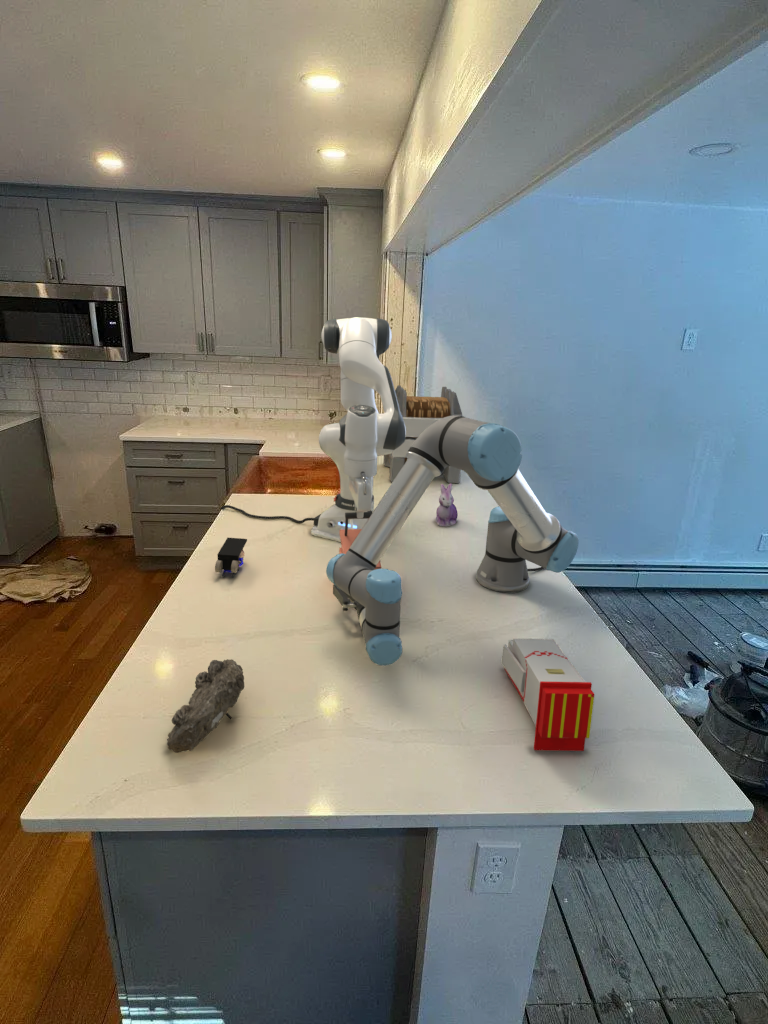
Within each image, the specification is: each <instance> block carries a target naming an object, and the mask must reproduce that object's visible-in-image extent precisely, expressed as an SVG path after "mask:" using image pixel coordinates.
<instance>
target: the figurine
mask: <svg viewBox="0 0 768 1024" xmlns="http://www.w3.org/2000/svg"><path fill="white" fill-rule="evenodd" d="M452 489H453V483H449V484H448V485H447V487H445V485H444V484H443V483H441V484H440V494H439V497H438V503H439V506H438V507H437V508H436V513H435V515H436V517H435V521H434V522H435V523H436V524H437V526H440V527H450V526H454V525H455V524H457V520H458V517H459V516H458V514H459V513H458V510H457V507H456V505H455V504H454V502H455V498H454V495H453V493H452Z"/></svg>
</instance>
